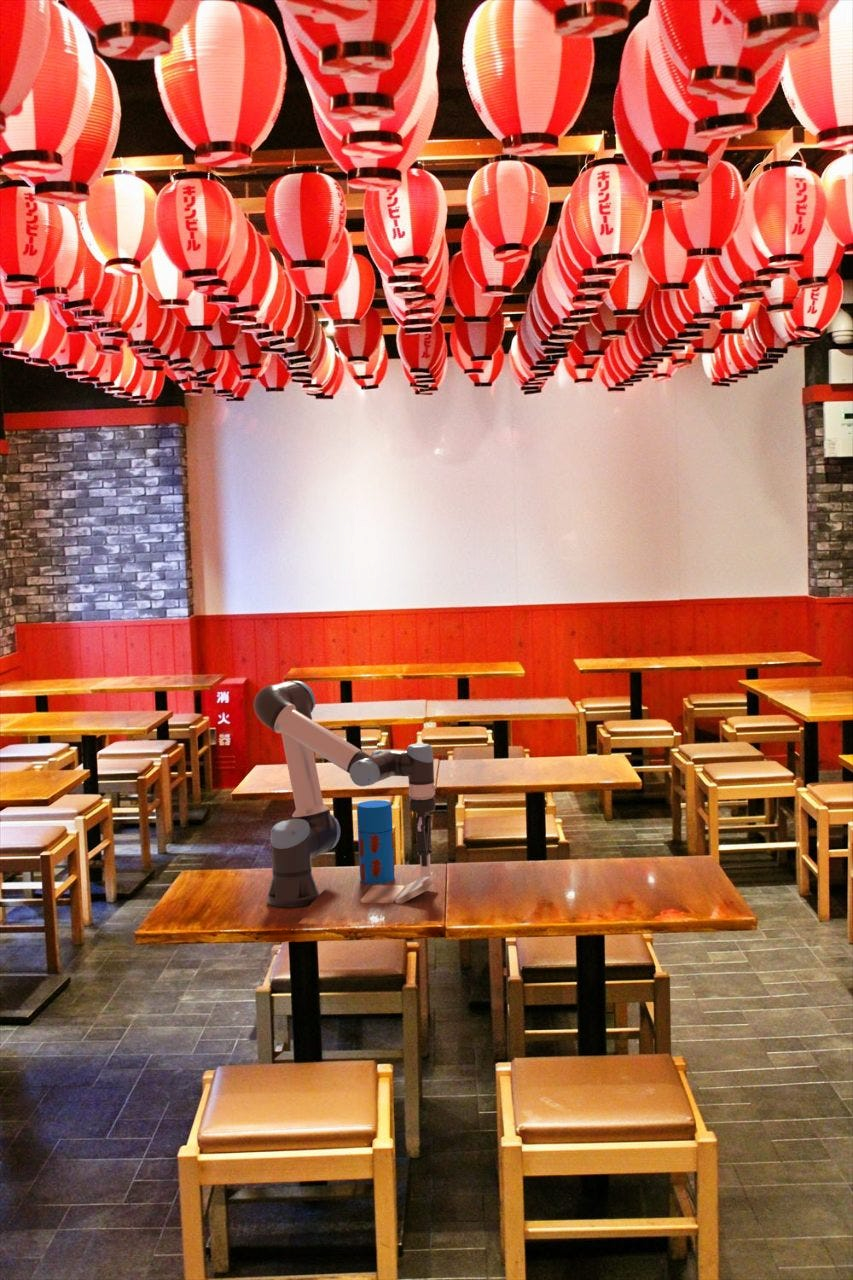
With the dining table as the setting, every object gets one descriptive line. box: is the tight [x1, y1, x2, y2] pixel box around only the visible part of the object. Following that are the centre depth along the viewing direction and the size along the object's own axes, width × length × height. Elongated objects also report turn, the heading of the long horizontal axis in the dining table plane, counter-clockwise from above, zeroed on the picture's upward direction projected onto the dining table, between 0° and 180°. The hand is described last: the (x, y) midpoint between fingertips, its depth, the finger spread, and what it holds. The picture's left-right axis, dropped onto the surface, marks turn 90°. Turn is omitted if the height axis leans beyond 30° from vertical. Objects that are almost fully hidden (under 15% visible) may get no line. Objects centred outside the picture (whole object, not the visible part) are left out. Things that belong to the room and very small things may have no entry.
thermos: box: [356, 799, 395, 885], centre depth 371 cm, size 11×11×25 cm
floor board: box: [360, 884, 406, 904], centre depth 353 cm, size 21×16×2 cm
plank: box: [395, 870, 437, 904], centre depth 351 cm, size 10×15×2 cm, turn 168°
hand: (425, 876), depth 351 cm, fingers closed
